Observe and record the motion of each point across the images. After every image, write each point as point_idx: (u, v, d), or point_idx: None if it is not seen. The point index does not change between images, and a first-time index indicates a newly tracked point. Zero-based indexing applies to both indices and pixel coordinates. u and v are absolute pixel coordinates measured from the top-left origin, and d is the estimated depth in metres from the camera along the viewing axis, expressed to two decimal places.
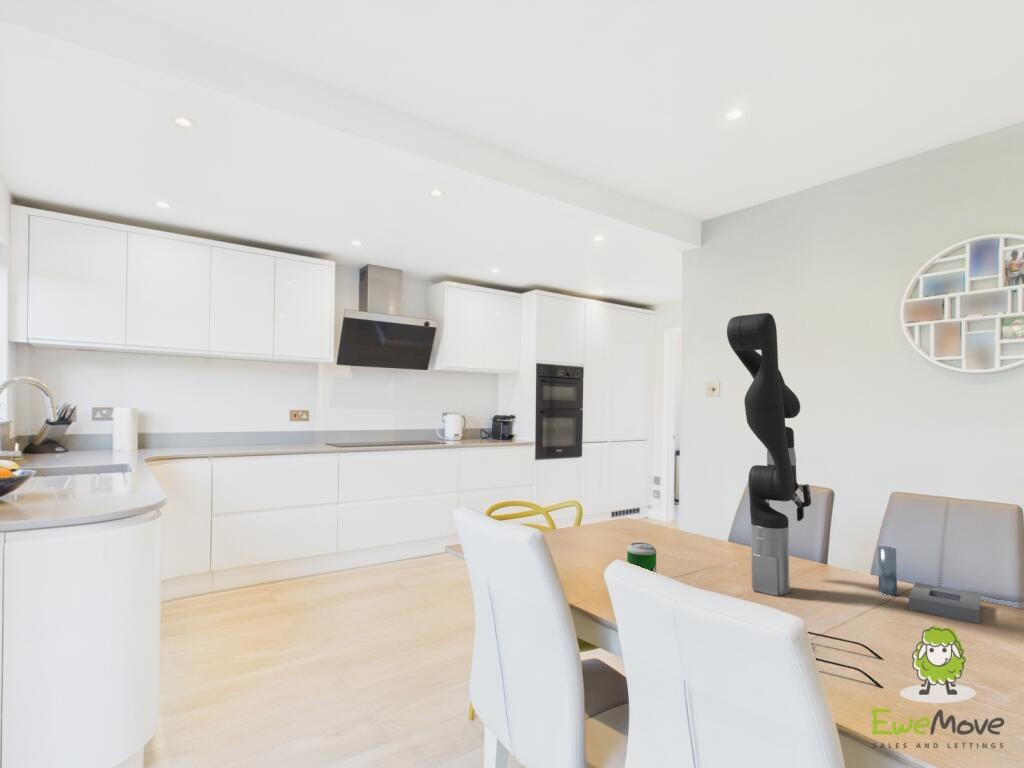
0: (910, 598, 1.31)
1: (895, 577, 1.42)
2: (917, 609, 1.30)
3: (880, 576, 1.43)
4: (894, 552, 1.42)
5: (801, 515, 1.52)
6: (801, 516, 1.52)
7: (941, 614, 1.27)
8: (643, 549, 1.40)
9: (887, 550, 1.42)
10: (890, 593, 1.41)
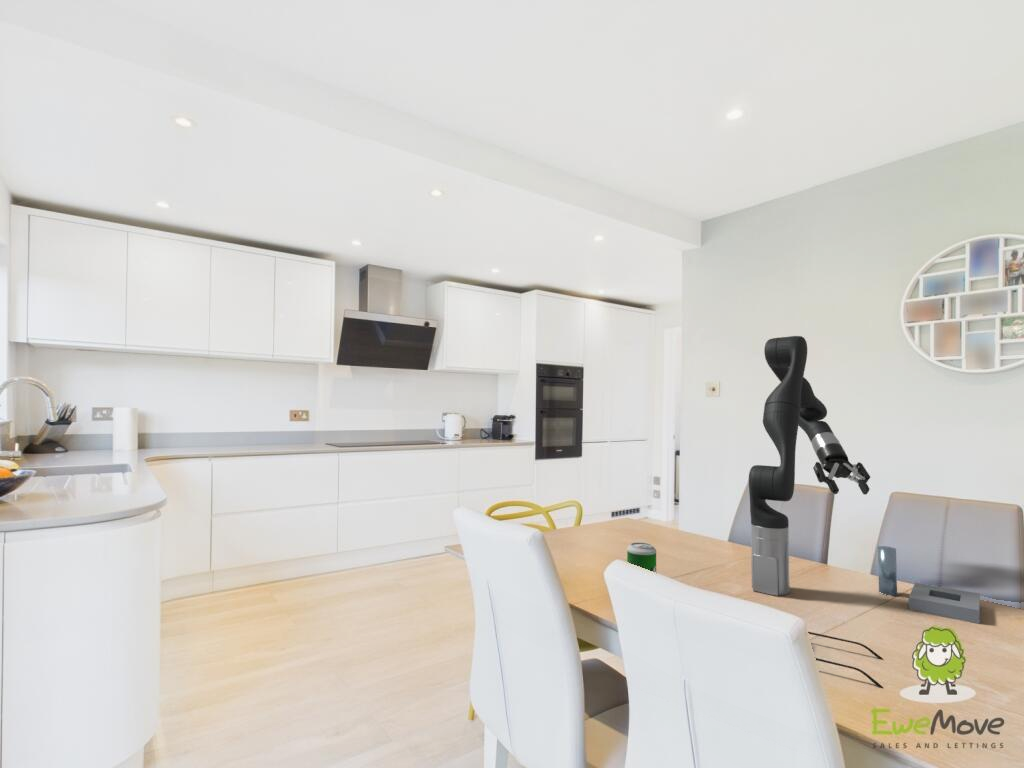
0: (910, 598, 1.31)
1: (895, 577, 1.42)
2: (917, 609, 1.30)
3: (880, 576, 1.43)
4: (894, 552, 1.42)
5: (867, 486, 1.57)
6: (867, 487, 1.57)
7: (941, 614, 1.27)
8: (643, 549, 1.40)
9: (887, 550, 1.42)
10: (890, 593, 1.41)
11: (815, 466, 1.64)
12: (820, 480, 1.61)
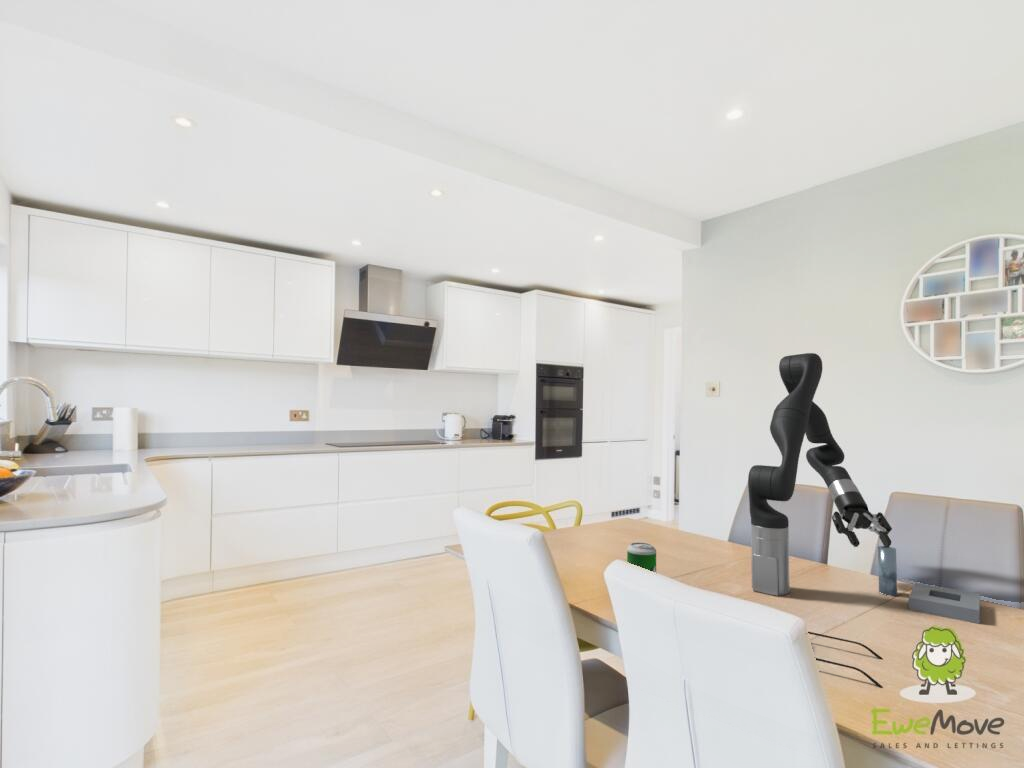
0: (910, 598, 1.31)
1: (895, 577, 1.42)
2: (917, 609, 1.30)
3: (880, 576, 1.43)
4: (894, 552, 1.42)
5: (889, 539, 1.50)
6: (889, 540, 1.50)
7: (941, 614, 1.27)
8: (643, 549, 1.40)
9: (887, 550, 1.42)
10: (890, 593, 1.41)
11: (834, 516, 1.57)
12: (839, 531, 1.54)
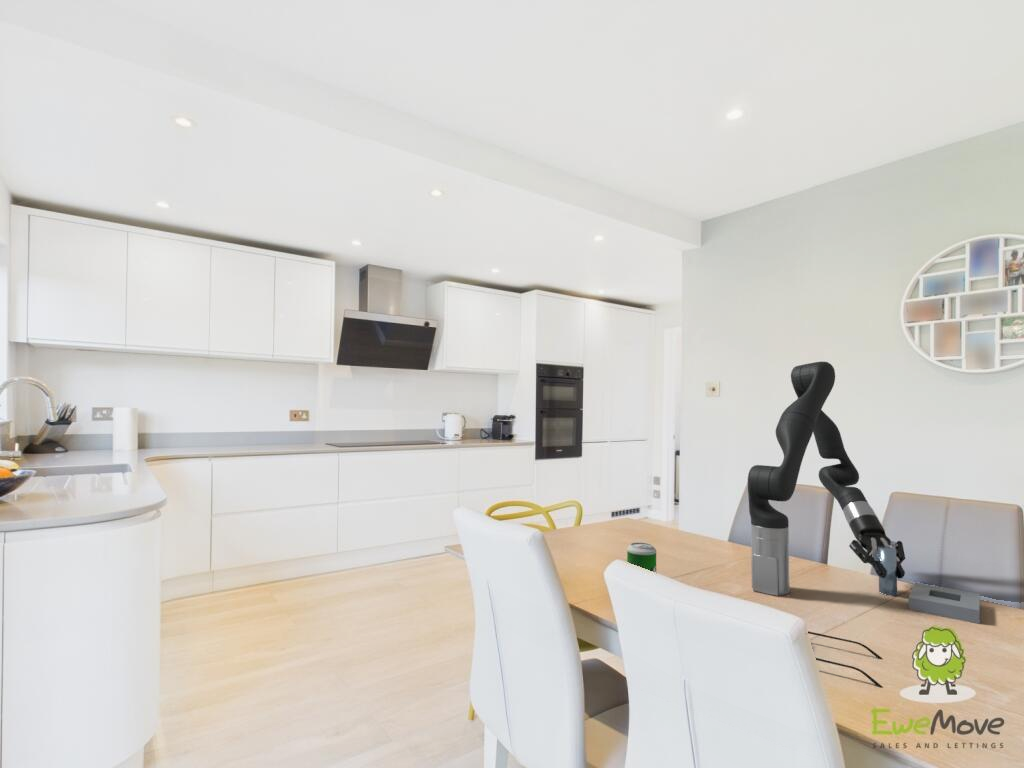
0: (910, 598, 1.31)
1: (895, 577, 1.42)
2: (917, 609, 1.30)
3: None
4: (894, 552, 1.42)
5: (902, 569, 1.42)
6: (902, 570, 1.42)
7: (941, 614, 1.27)
8: (643, 549, 1.40)
9: (887, 550, 1.42)
10: (890, 593, 1.41)
11: (853, 545, 1.48)
12: (864, 561, 1.46)
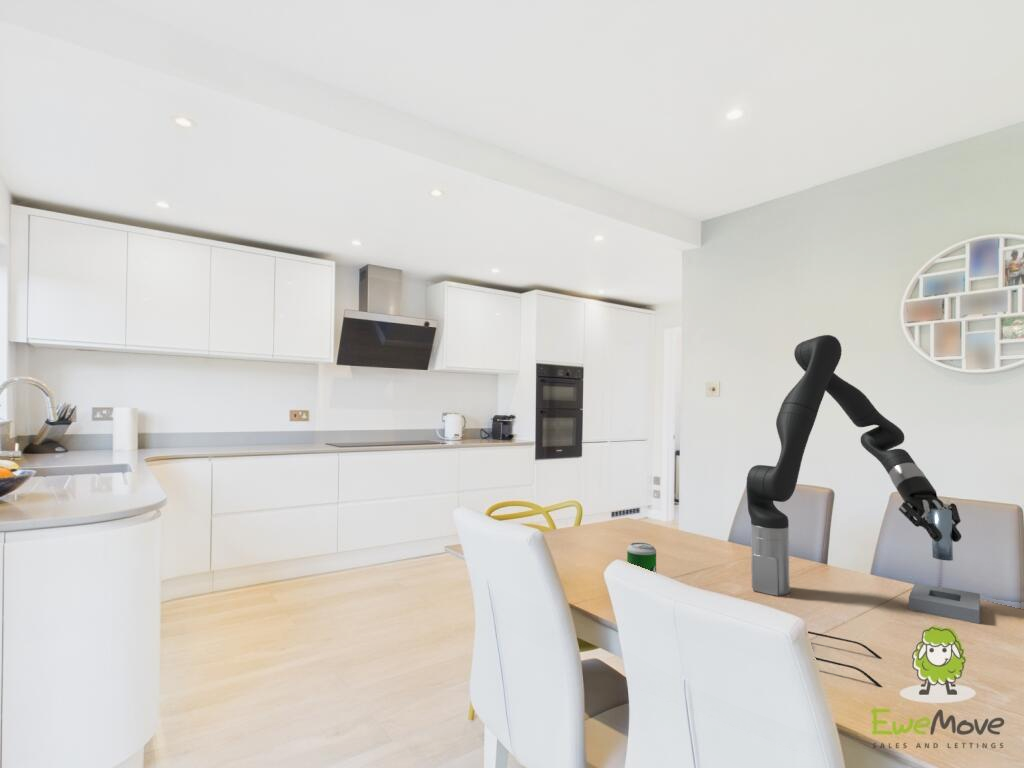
0: (910, 598, 1.31)
1: (951, 540, 1.32)
2: (917, 609, 1.30)
3: None
4: (950, 514, 1.33)
5: (958, 532, 1.33)
6: (959, 533, 1.33)
7: (941, 614, 1.27)
8: (643, 549, 1.40)
9: (942, 512, 1.33)
10: (946, 557, 1.32)
11: (903, 508, 1.39)
12: (916, 524, 1.36)
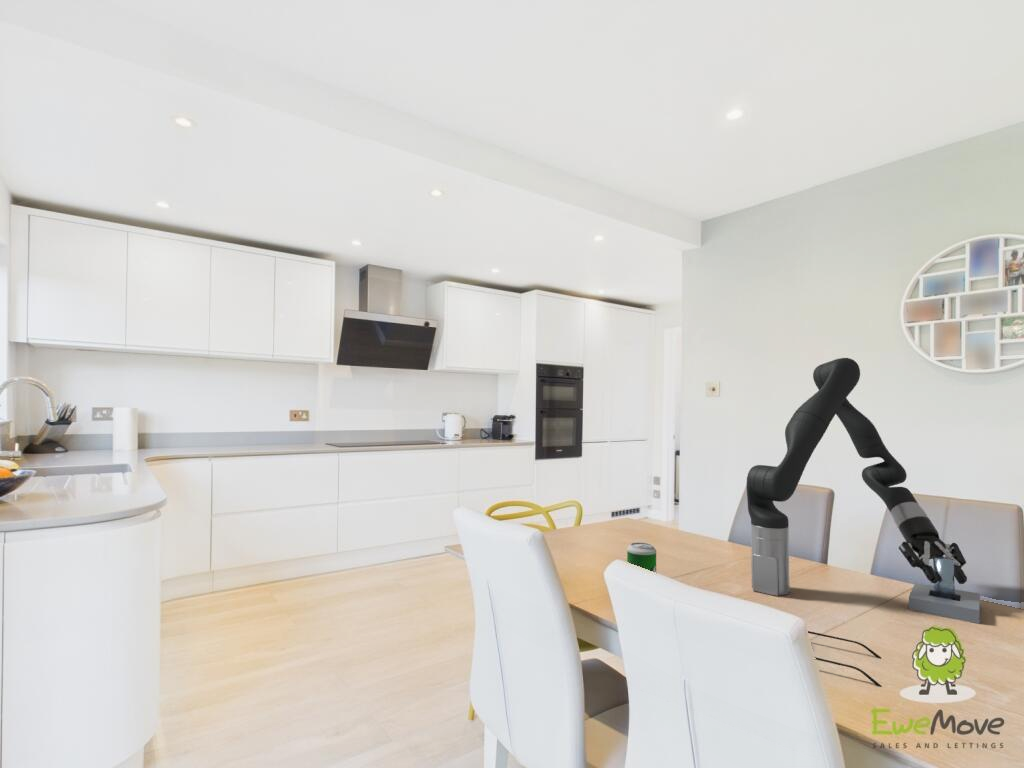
0: (910, 598, 1.31)
1: (953, 590, 1.31)
2: (917, 609, 1.30)
3: (936, 589, 1.33)
4: (952, 563, 1.32)
5: (964, 574, 1.32)
6: (964, 575, 1.32)
7: (941, 614, 1.27)
8: (643, 549, 1.40)
9: (944, 561, 1.32)
10: None
11: (902, 547, 1.38)
12: (913, 565, 1.36)
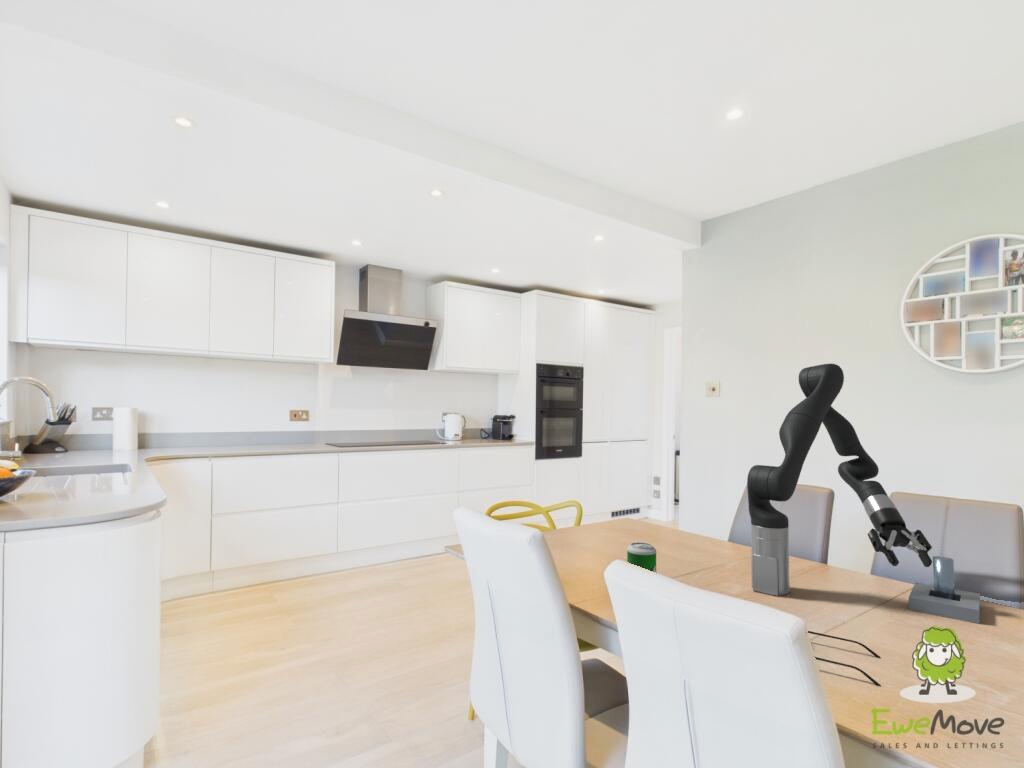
0: (910, 598, 1.31)
1: (953, 590, 1.32)
2: (917, 609, 1.30)
3: (936, 589, 1.33)
4: (952, 563, 1.32)
5: (929, 558, 1.45)
6: (930, 559, 1.44)
7: (941, 614, 1.27)
8: (643, 549, 1.40)
9: (944, 561, 1.32)
10: None
11: (870, 533, 1.51)
12: (876, 550, 1.48)
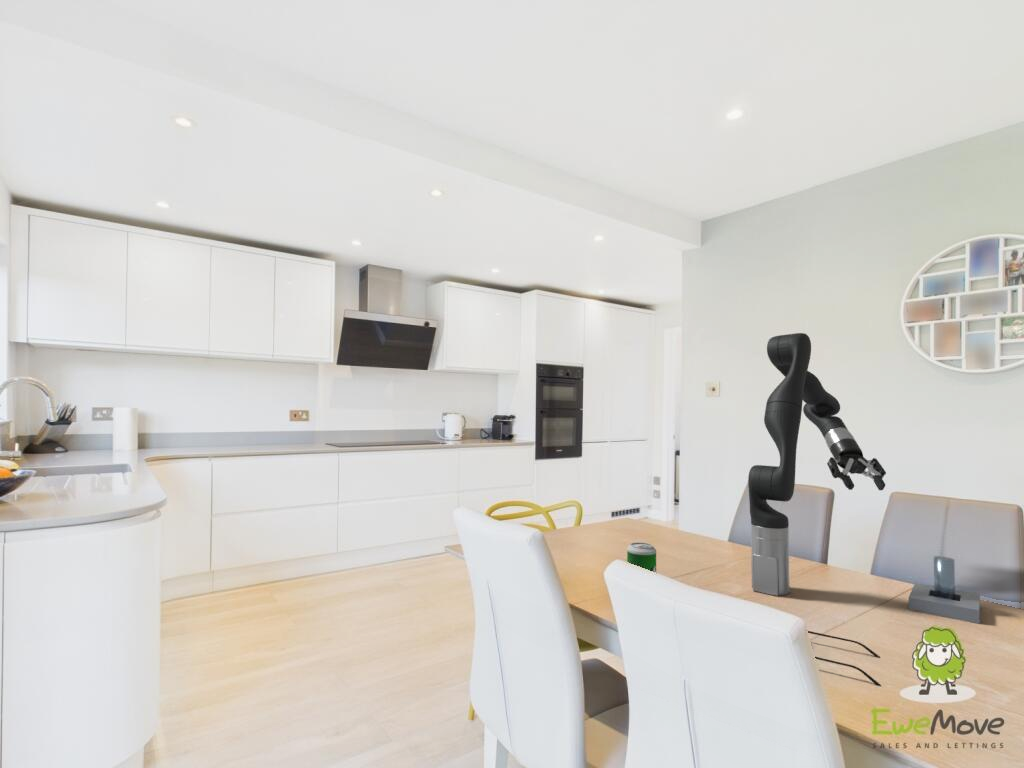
0: (910, 598, 1.31)
1: (953, 590, 1.31)
2: (917, 609, 1.30)
3: (936, 588, 1.33)
4: (952, 563, 1.32)
5: (883, 482, 1.54)
6: (883, 483, 1.54)
7: (941, 614, 1.27)
8: (643, 549, 1.40)
9: (945, 561, 1.32)
10: None
11: (829, 461, 1.60)
12: (834, 476, 1.57)
